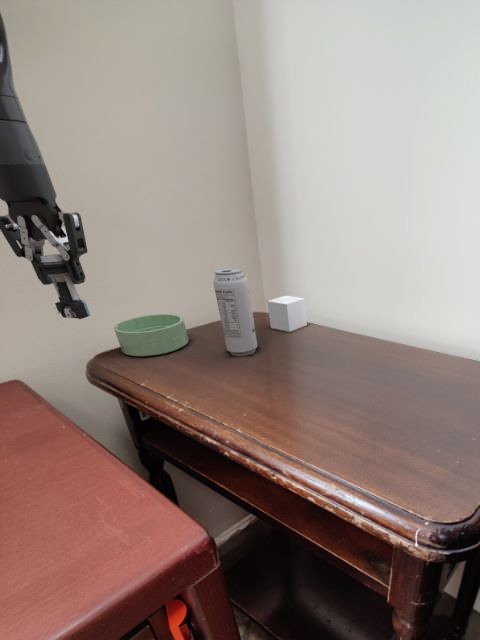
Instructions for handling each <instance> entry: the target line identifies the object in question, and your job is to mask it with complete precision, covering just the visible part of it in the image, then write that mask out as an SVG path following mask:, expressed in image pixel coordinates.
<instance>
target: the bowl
mask: <svg viewBox="0 0 480 640" xmlns="http://www.w3.org/2000/svg"><path fill="white" fill-rule="evenodd" d="M186 327H187V326H186V324H185V320H184V317H183V316H182V315H179V314H174V313H173V314H172V313H158V314H157V313H156V314H147V315H146V314H145V315H142V316H141V315H140V316H136V317H132V318H129V319H126V320H122V321H121V322H119V323H117V324H115V325H114V327H113V328H114V329H113V330H114V333H115V336H116V339H117V341H118V344H119V347H120V350H121V352H122V353H123V354H125V355H127V356H132V357H153V356H159V355H164V354H168V353H169V354H170V353H171V352H174V351H177V350H179V349H181V348H183V347H185V346H186V345H187V344H189V340H190V339H189V336H188V331H187V328H186Z"/></svg>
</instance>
